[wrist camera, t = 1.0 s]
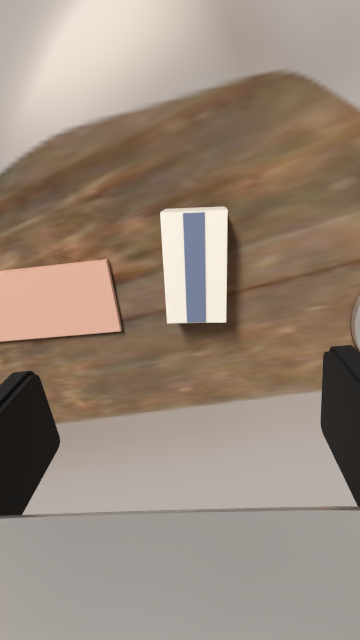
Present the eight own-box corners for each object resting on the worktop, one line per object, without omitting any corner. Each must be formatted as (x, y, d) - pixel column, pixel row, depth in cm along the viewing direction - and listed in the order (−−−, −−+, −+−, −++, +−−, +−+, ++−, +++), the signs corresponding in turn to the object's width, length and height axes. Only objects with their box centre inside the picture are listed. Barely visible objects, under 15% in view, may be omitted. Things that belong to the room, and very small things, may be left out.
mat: (108, 259, 30) (106, 260, 29) (122, 328, 33) (120, 331, 32) (-34, 274, 31) (-38, 276, 31) (-9, 340, 34) (-13, 342, 33)
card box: (224, 206, 28) (227, 210, 24) (223, 306, 31) (226, 322, 27) (165, 208, 28) (160, 212, 24) (171, 306, 32) (167, 323, 28)
